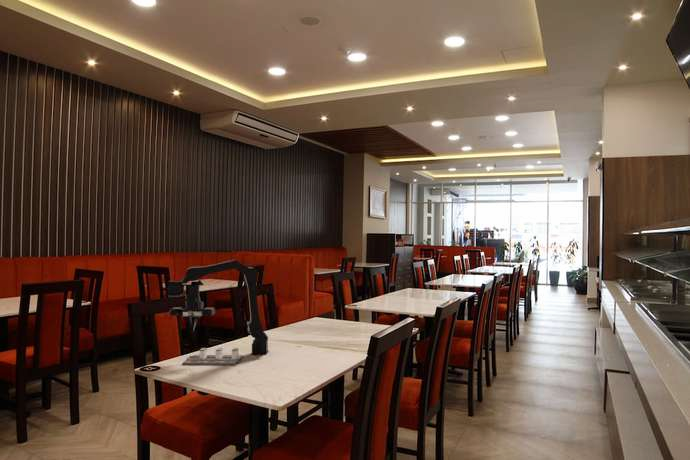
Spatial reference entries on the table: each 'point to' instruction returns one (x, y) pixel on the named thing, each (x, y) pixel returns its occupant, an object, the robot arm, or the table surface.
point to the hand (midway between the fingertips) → (192, 331)
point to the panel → (212, 360)
